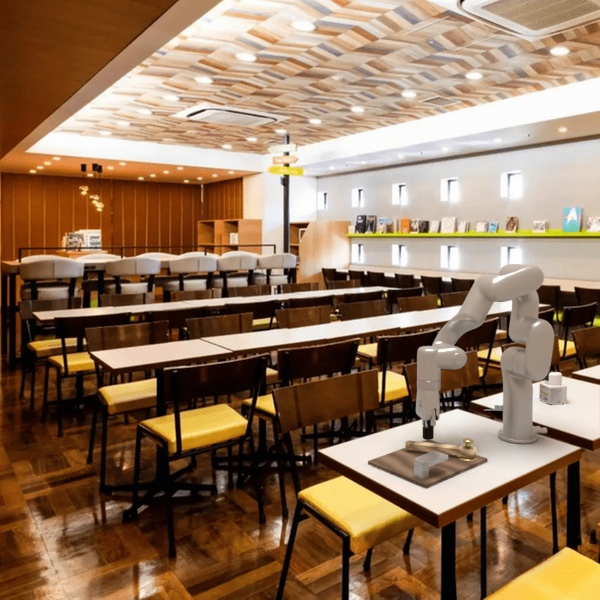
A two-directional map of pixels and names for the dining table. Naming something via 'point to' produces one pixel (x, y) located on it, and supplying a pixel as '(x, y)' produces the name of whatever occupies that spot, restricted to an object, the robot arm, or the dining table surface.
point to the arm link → (442, 448)
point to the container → (553, 389)
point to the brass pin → (468, 445)
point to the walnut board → (404, 467)
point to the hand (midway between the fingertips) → (428, 438)
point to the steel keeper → (427, 463)
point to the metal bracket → (497, 408)
